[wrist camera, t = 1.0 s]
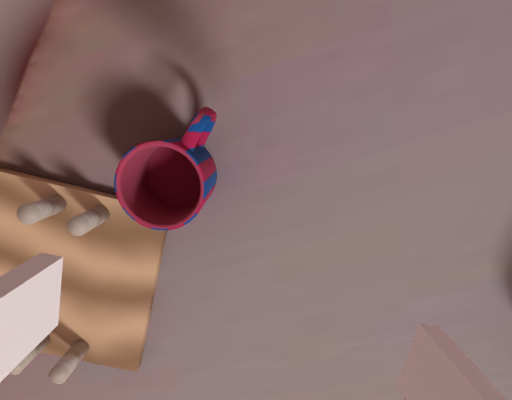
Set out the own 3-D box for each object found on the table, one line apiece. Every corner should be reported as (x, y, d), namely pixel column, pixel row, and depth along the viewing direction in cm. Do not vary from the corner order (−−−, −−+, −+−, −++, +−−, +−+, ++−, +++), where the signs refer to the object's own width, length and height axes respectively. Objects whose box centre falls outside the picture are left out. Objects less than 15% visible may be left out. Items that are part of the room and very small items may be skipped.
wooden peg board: (3, 168, 29) (-50, 176, 24) (171, 208, 30) (154, 224, 25) (-9, 332, 33) (-57, 369, 28) (140, 363, 34) (120, 404, 29)
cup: (132, 179, 29) (96, 193, 23) (195, 93, 28) (176, 81, 21) (188, 221, 30) (170, 247, 24) (253, 141, 29) (252, 144, 22)
